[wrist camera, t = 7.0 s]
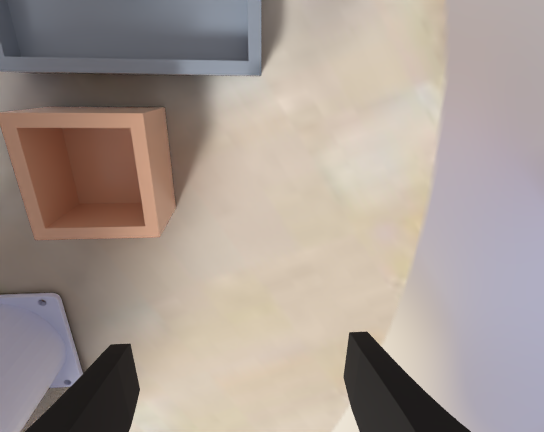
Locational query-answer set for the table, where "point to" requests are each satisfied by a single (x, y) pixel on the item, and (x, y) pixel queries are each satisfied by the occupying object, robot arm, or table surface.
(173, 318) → the table surface
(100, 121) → the hollow square block
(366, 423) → the robot arm
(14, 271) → the table surface
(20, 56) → the tray
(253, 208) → the table surface
